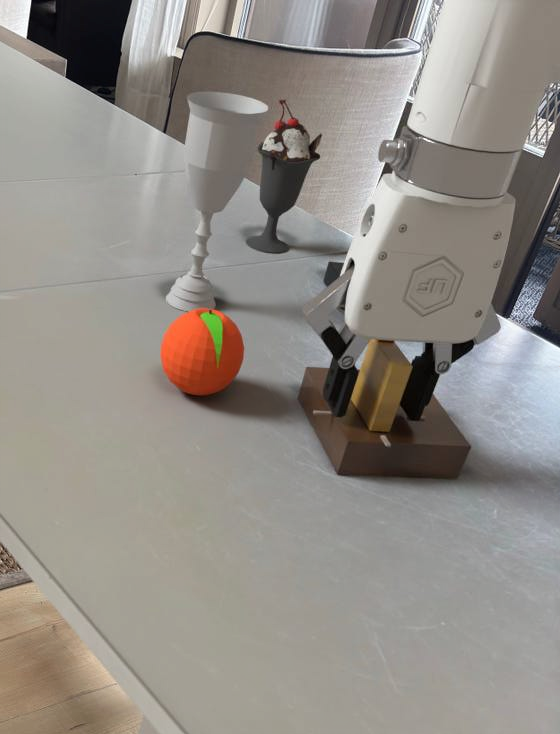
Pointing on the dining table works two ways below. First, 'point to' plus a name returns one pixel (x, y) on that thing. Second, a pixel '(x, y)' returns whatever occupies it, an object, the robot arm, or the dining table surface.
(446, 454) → the plate
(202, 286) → the chalice
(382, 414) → the thumbturn
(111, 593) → the dining table surface
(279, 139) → the sundae
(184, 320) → the clementine
